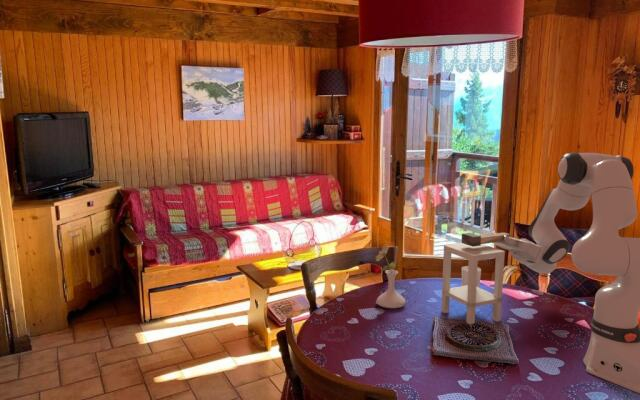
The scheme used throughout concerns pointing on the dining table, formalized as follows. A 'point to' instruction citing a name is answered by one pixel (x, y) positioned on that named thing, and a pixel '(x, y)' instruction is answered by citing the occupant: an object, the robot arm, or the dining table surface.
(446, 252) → the shelf stand
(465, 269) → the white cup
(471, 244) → the mallet
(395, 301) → the flower in vase
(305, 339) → the dining table surface
